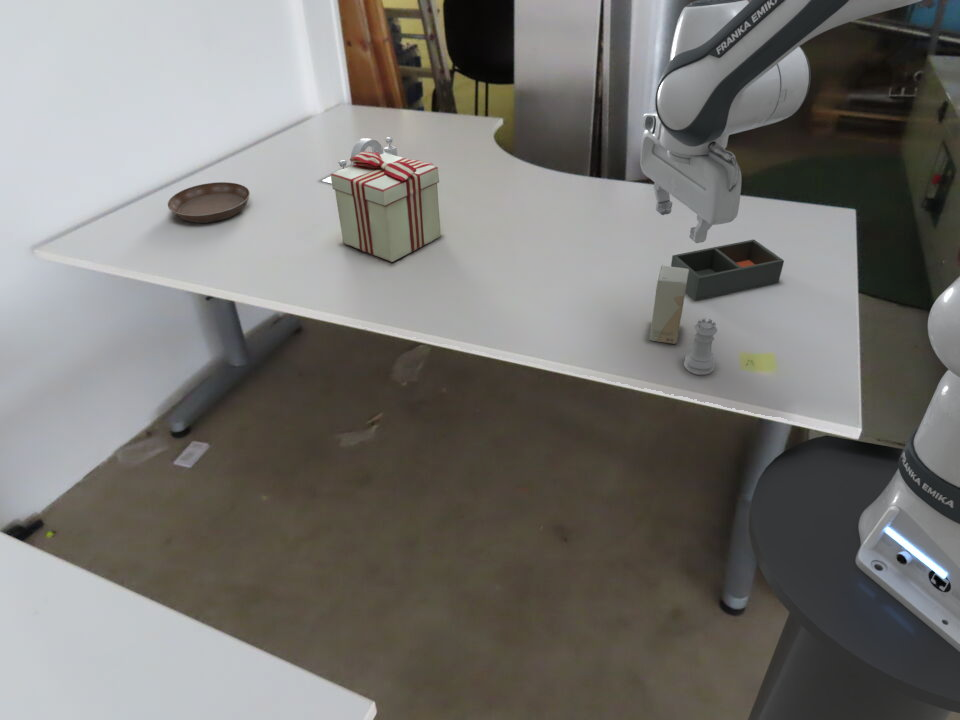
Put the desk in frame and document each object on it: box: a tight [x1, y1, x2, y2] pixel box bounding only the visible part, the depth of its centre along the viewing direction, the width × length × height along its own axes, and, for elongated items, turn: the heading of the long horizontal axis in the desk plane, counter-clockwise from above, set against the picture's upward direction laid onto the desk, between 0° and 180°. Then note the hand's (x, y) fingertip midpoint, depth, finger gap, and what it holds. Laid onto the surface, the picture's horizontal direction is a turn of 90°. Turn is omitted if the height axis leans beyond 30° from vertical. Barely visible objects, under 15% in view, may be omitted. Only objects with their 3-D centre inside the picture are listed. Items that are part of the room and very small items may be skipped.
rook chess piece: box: [683, 318, 718, 376], centre depth 103 cm, size 4×4×8 cm
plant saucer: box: [167, 181, 251, 224], centre depth 157 cm, size 18×18×3 cm
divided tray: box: [670, 239, 785, 301], centre depth 124 cm, size 9×17×4 cm, turn 108°
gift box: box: [330, 151, 442, 263], centre depth 139 cm, size 17×18×17 cm
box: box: [649, 265, 689, 345], centre depth 109 cm, size 5×4×11 cm
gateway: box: [321, 136, 398, 185], centre depth 171 cm, size 20×2×8 cm, turn 147°
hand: (679, 226), depth 101 cm, fingers open, 8 cm apart
